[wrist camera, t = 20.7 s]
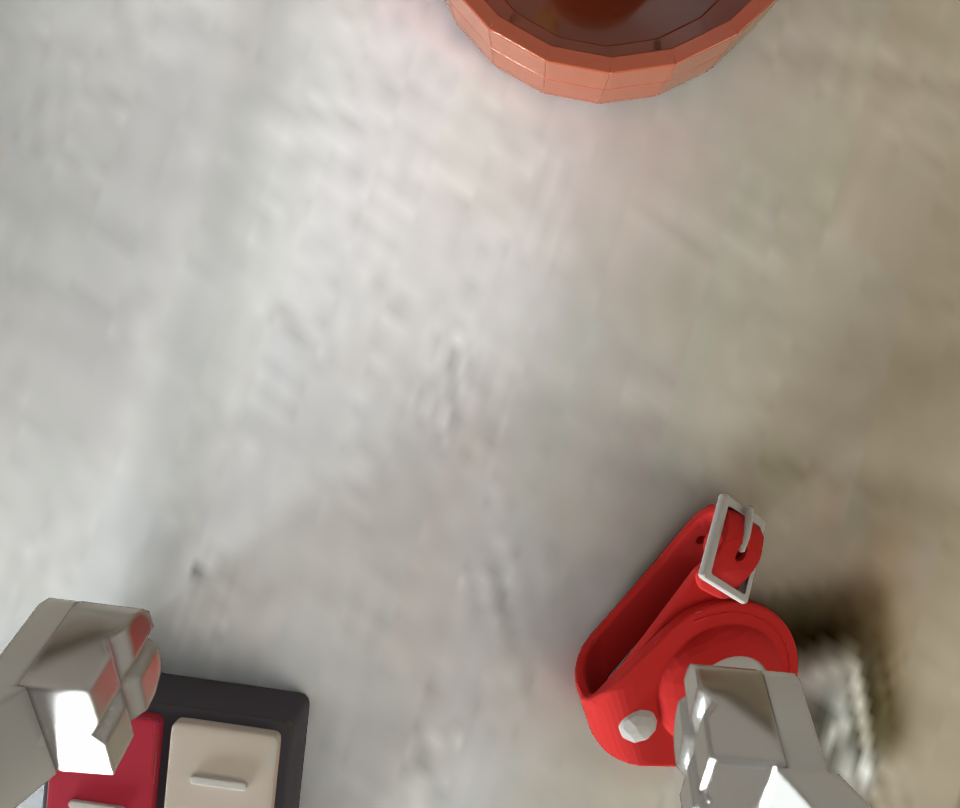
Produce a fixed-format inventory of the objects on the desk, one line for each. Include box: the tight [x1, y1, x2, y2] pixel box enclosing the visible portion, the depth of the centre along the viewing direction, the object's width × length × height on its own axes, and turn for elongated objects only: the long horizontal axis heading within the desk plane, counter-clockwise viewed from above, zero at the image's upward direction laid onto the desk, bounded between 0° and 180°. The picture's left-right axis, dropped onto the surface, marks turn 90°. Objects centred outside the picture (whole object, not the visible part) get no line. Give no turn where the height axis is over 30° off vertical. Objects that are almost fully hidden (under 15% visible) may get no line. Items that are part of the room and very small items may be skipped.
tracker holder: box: [575, 493, 798, 766], centre depth 36 cm, size 12×4×10 cm
